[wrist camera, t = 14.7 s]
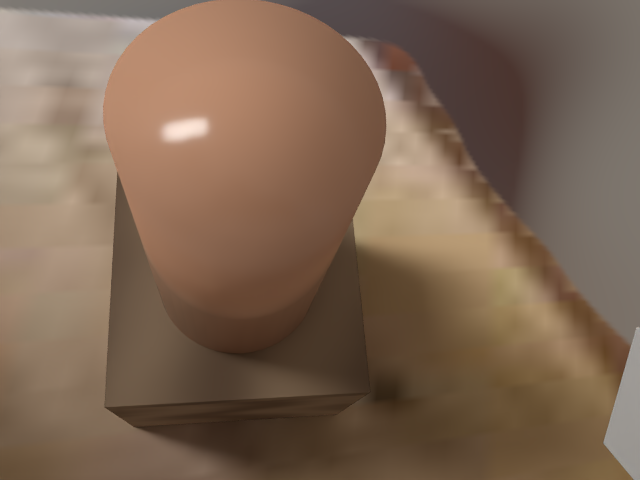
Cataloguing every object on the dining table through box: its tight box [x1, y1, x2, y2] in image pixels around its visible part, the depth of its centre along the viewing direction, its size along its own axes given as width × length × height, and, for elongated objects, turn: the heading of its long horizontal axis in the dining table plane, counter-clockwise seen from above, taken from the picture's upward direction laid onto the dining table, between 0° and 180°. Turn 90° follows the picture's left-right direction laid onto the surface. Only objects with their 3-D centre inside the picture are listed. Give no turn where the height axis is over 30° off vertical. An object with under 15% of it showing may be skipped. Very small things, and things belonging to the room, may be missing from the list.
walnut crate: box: [105, 171, 370, 427], centre depth 29 cm, size 10×10×8 cm
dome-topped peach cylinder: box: [103, 0, 386, 354], centre depth 19 cm, size 6×6×12 cm
